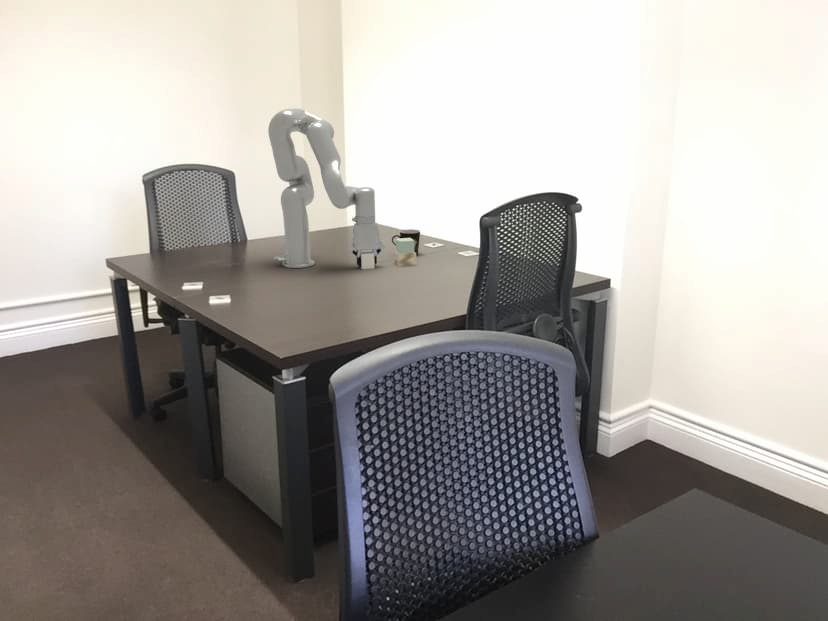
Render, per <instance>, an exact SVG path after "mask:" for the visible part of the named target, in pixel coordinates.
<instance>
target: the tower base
mask: <svg viewBox="0 0 828 621" xmlns="http://www.w3.org/2000/svg"><path fill="white" fill-rule="evenodd" d="M394 263H395V265H397V266H398V267H409V266H416V265H417V256H416V253H415V252H414V253H408V254H399V253H398V252H397V251H396V250H394Z"/></svg>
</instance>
